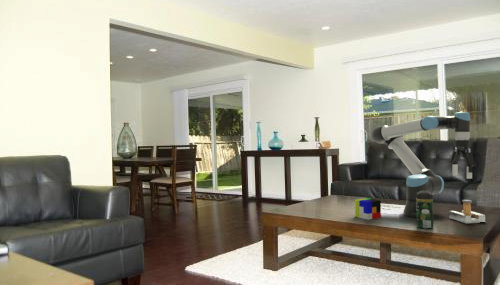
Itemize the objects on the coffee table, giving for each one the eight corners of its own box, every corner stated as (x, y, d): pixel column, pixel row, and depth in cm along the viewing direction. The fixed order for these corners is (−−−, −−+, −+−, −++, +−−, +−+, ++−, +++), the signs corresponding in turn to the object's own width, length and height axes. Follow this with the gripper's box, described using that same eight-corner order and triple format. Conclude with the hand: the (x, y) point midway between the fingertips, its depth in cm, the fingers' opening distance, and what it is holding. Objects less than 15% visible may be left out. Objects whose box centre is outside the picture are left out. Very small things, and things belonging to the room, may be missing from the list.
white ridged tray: (465, 223, 208) (465, 215, 208) (449, 218, 222) (449, 210, 222) (485, 222, 209) (485, 215, 209) (467, 217, 223) (467, 210, 223)
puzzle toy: (367, 219, 222) (367, 202, 222) (355, 216, 231) (355, 199, 231) (380, 217, 227) (380, 200, 226) (368, 214, 235) (367, 198, 235)
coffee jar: (416, 224, 208) (416, 189, 208) (433, 225, 205) (432, 190, 205) (416, 228, 199) (416, 192, 199) (433, 229, 196) (433, 192, 196)
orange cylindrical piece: (466, 221, 212) (466, 201, 212) (460, 219, 216) (460, 200, 216) (473, 221, 213) (473, 201, 212) (468, 219, 217) (468, 199, 217)
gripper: (482, 139, 209) (482, 179, 210) (455, 139, 234) (455, 174, 235) (469, 140, 209) (469, 179, 210) (443, 139, 234) (443, 174, 234)
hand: (461, 177), depth 222 cm, fingers open, 13 cm apart
